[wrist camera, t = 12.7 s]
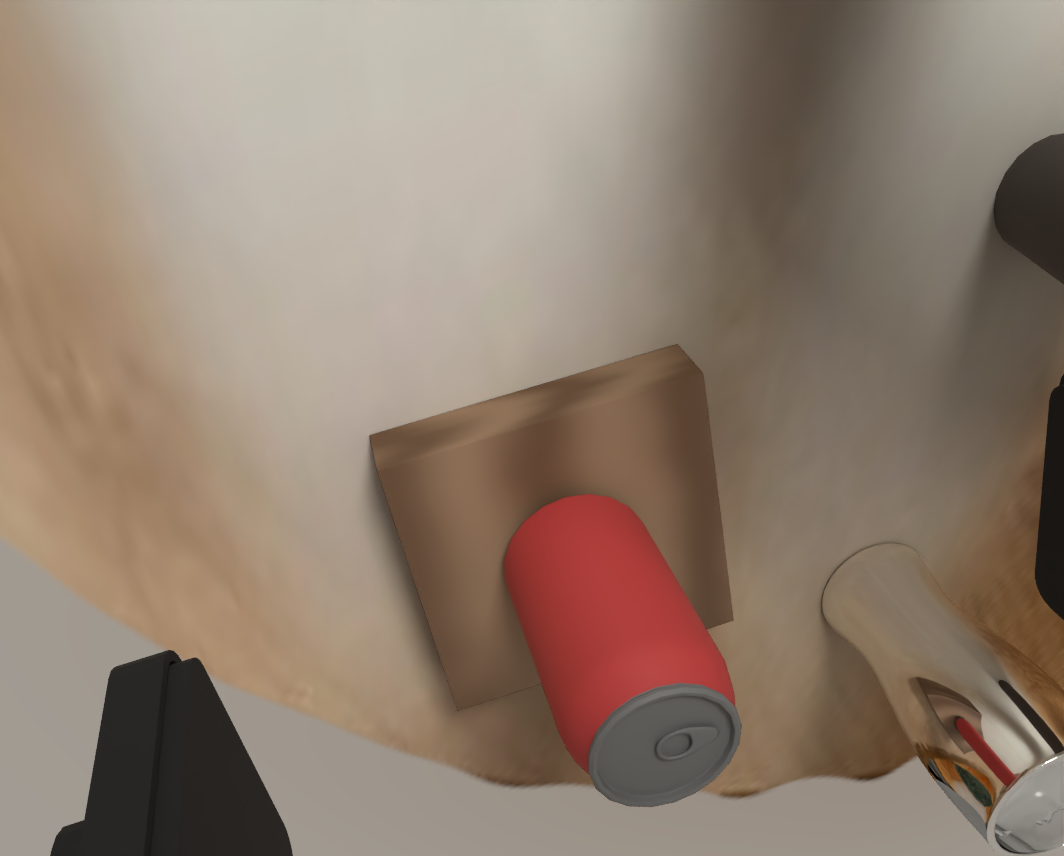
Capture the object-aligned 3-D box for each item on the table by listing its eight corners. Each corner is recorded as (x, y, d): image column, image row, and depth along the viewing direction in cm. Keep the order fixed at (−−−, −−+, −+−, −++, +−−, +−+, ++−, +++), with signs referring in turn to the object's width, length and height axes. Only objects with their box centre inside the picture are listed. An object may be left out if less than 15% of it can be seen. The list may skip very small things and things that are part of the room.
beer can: (650, 586, 47) (760, 786, 37) (513, 625, 46) (588, 841, 36) (635, 469, 44) (752, 654, 34) (487, 510, 43) (562, 712, 33)
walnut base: (677, 344, 45) (703, 373, 42) (709, 583, 52) (733, 620, 50) (369, 435, 43) (377, 471, 41) (447, 668, 51) (457, 711, 48)
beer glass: (797, 576, 53) (969, 801, 41) (915, 513, 53) (1124, 718, 40) (832, 658, 57) (1000, 887, 44) (942, 599, 57) (1142, 812, 44)
